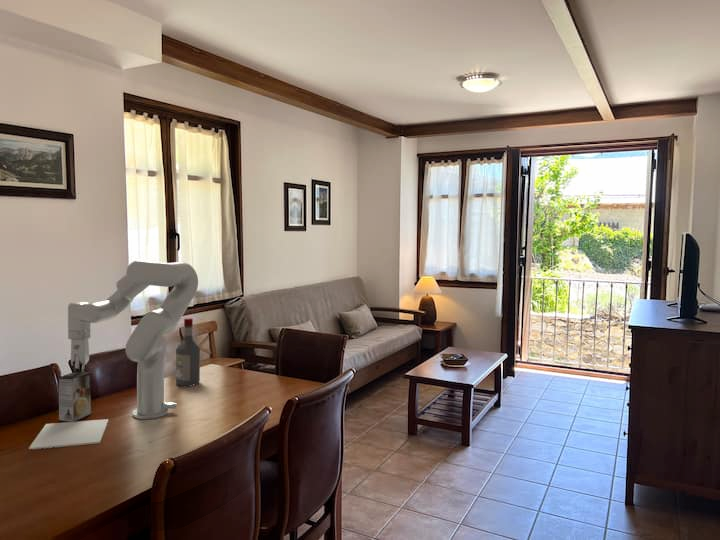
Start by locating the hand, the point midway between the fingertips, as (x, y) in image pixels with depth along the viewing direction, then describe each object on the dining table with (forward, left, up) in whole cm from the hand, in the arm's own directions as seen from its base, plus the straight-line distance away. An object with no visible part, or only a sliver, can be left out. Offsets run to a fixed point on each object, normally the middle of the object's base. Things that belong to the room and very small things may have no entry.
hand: (79, 381), depth 201 cm
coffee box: (0, +9, -11) cm, 14 cm away
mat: (-2, +27, -11) cm, 29 cm away
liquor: (-40, -28, -11) cm, 50 cm away
